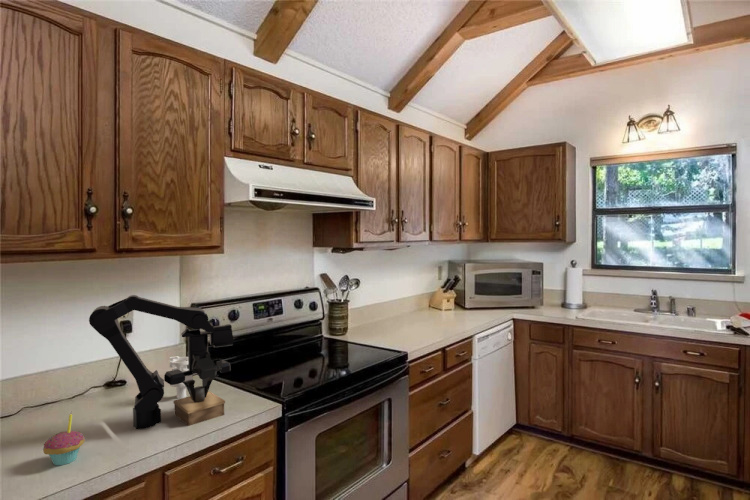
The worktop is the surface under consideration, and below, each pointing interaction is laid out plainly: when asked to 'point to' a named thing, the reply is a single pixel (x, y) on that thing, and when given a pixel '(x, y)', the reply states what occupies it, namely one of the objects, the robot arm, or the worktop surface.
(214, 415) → the box
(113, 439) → the worktop surface
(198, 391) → the lid
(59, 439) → the cupcake
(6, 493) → the worktop surface
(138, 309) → the robot arm
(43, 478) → the worktop surface
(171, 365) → the white tall flanged cylinder
